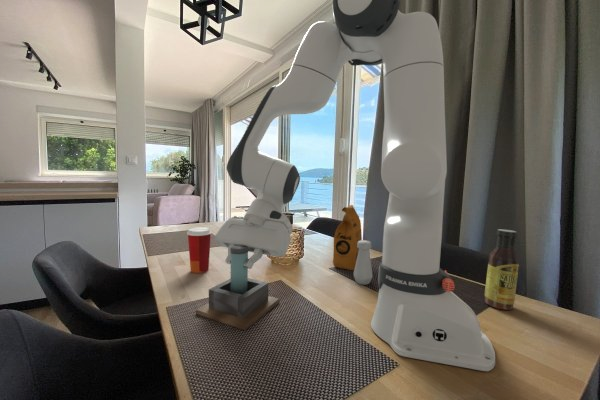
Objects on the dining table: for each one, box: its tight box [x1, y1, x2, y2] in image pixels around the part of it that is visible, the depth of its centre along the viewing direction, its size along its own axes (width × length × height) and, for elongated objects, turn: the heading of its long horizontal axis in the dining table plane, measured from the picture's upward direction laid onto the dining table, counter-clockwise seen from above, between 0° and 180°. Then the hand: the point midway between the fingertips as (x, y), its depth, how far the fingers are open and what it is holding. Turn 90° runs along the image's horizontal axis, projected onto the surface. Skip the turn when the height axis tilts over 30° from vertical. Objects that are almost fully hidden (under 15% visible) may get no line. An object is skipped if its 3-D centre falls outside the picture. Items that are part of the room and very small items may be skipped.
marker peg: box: [230, 246, 249, 295], centre depth 64 cm, size 4×4×11 cm
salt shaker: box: [353, 239, 373, 286], centre depth 82 cm, size 6×6×13 cm
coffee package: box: [332, 204, 363, 271], centre depth 98 cm, size 10×12×22 cm
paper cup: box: [186, 227, 213, 274], centre depth 88 cm, size 8×8×14 cm
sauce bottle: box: [484, 228, 520, 311], centre depth 68 cm, size 7×6×20 cm
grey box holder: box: [195, 277, 280, 331], centre depth 64 cm, size 14×14×6 cm
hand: (237, 265), depth 63 cm, fingers closed on marker peg, 4 cm apart
